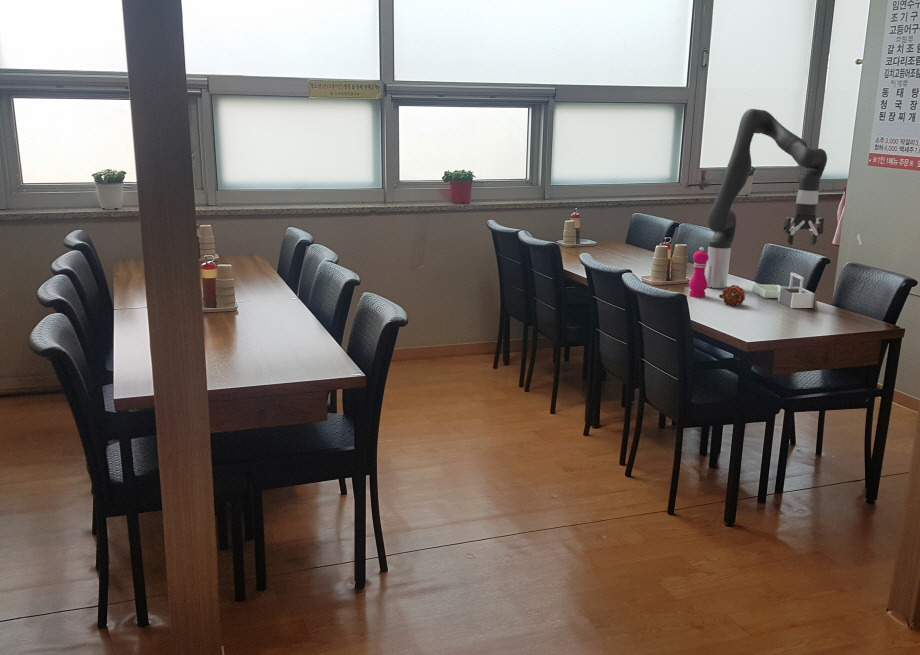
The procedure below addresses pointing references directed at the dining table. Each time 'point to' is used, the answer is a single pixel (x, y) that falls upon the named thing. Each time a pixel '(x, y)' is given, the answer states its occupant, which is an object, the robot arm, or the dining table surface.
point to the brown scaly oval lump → (733, 295)
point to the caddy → (791, 290)
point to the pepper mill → (699, 274)
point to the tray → (767, 290)
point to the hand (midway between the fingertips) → (801, 244)
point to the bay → (800, 298)
